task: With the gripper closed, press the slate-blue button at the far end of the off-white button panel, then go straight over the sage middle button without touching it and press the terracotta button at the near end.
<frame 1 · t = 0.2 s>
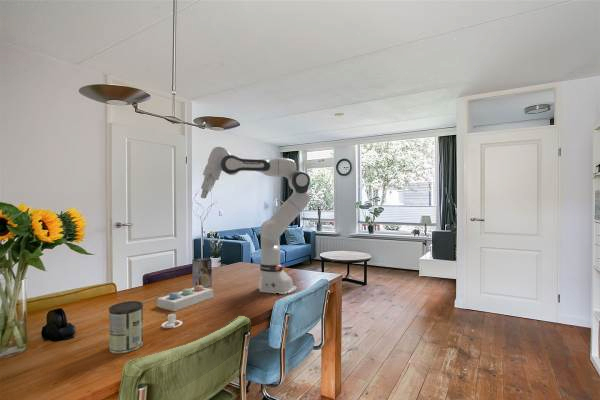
hand: (203, 198, 173), 52 cm above the table, tool tilted 20°, fingers open, 8 cm apart
coffee can: (126, 347, 108), on the table
terracotta button: (198, 289, 161), point 5 cm above the table, slide at 0.0 cm
sage button: (186, 292, 155), point 5 cm above the table, slide at 0.0 cm
teacup and saucer: (163, 327, 125), on the table
button panel: (186, 301, 155), on the table
coffee box: (202, 287, 182), on the table
blue button: (174, 296, 148), point 4 cm above the table, slide at 0.0 cm
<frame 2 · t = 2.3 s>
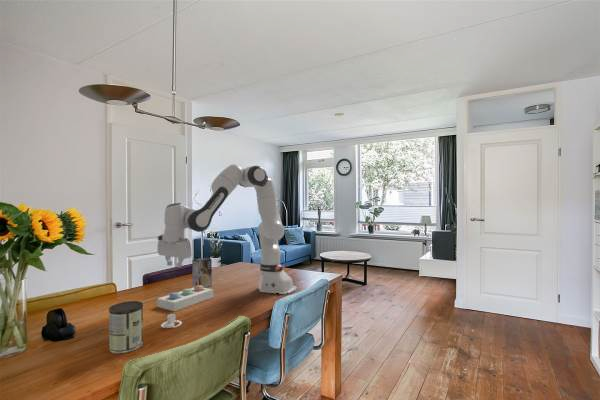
hand: (174, 266, 148), 19 cm above the table, tool pointing down, fingers open, 5 cm apart
nothing on the table moved.
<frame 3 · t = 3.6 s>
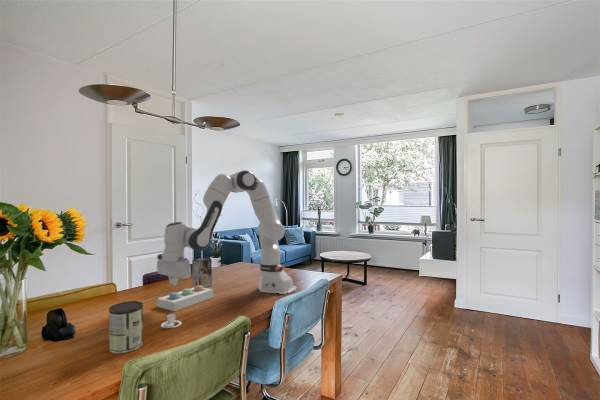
hand: (173, 285, 148), 10 cm above the table, tool pointing down, fingers closed
nothing on the table moved.
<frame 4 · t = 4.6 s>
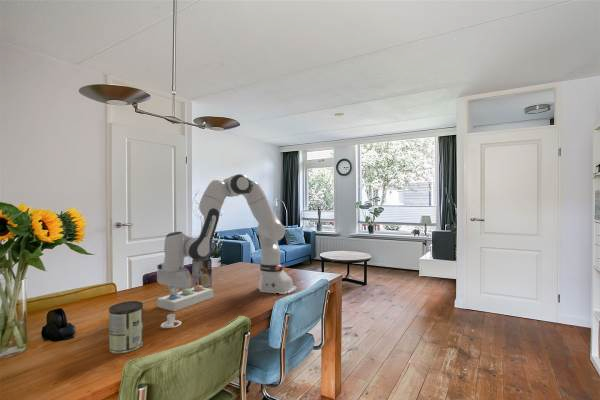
hand: (173, 295, 148), 5 cm above the table, tool pointing down, fingers closed, pressing on blue button
blue button: (174, 298, 148), point 4 cm above the table, slide at 0.8 cm, touching gripper
everything else where it was.
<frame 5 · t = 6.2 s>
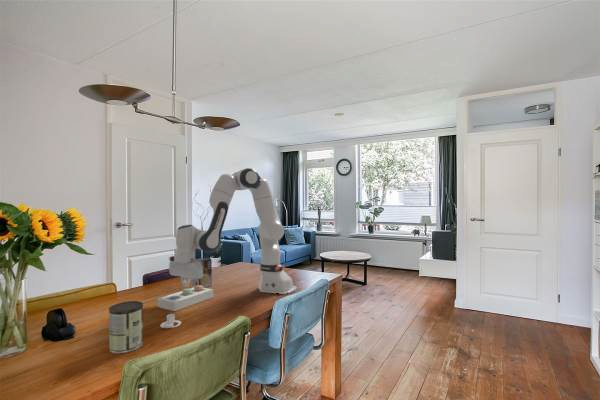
hand: (186, 285, 154), 8 cm above the table, tool pointing down, fingers closed
blue button: (174, 300, 148), point 3 cm above the table, slide at 1.6 cm
everything else where it was.
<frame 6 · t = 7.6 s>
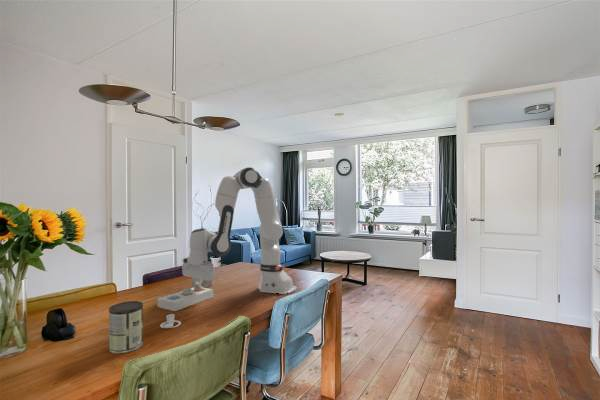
hand: (198, 286, 161), 6 cm above the table, tool pointing down, fingers closed, pressing on terracotta button
terracotta button: (198, 289, 161), point 4 cm above the table, slide at 0.4 cm, touching gripper
everything else where it was.
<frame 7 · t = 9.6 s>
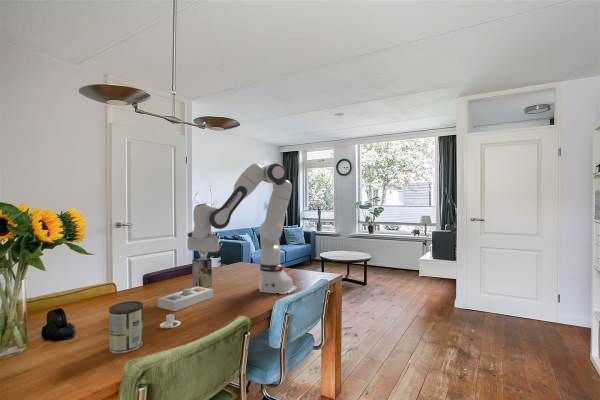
hand: (203, 259, 167), 19 cm above the table, tool pointing down, fingers closed
terracotta button: (198, 292, 161), point 3 cm above the table, slide at 1.6 cm
everything else where it was.
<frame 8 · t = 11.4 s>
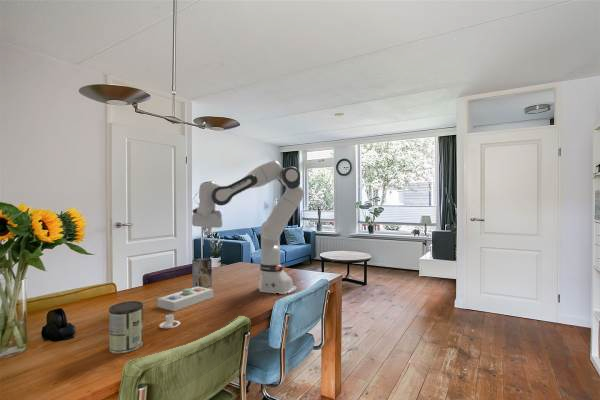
hand: (207, 235, 174), 31 cm above the table, tool pointing down, fingers closed
nothing on the table moved.
at the end: blue button slide at 1.6 cm; terracotta button slide at 1.6 cm; sage button slide at 0.0 cm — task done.
